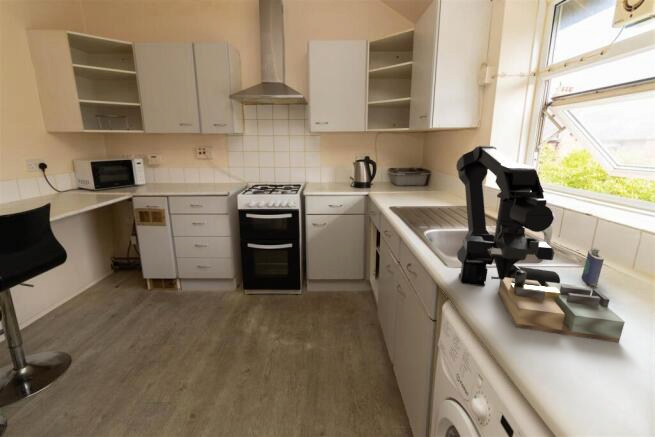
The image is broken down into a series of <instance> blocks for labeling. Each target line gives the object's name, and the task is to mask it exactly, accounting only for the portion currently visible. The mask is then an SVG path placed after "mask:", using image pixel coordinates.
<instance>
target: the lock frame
mask: <svg viewBox="0 0 655 437" xmlns="http://www.w3.org/2000/svg"><path fill="white" fill-rule="evenodd" d="M499 280H500V281H499V285H498V290H497V292H498V296H499V298H500V299H501V302H502V303H503V305H504V308H505V309H506V311H507V313H508V315H509V316H510V318H511V321H512V322H513V324H514V327H515V328H519V329H525V330H531V331H533V330H534V331H539V332H544V333H545V332H546V333H552V334H560V335H566V336H573V337H581V338H587V339H588V338H589V339H594V340H602V341H605V342H607V341H608V342H613V343H614V342H615V343H620V340H621V336H622V334H623V329H624V326H625V323H626V321H625V320H623V319H622V318H621V317H620V316H619V315H618V314H617V313H616V312H614V311H613V309H611V308H610V307H609V304H610V299H609V297H607V296H606V295H605V294H604V293H603V292H602V291H600V290H599V289H597V288H596V289H594V288H593V289H590V288H588V287H586V286H584V285H577V284H568V283H561V282H560V283H551V282H546V283H545V287H550V288H556V289H557V290H558V291H559V292H560V296H559V299H558V298H549V297H545V294H546V292H545V290H538V289H530V288H521V287H516V293H512V291H511V289H510V286H511V283H514V282H515V278H506V277H505V278H504V279H503V280H502V279H499ZM525 285H533V286H541V285H540V284H539V282H538V281H533V280H525Z"/></svg>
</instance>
